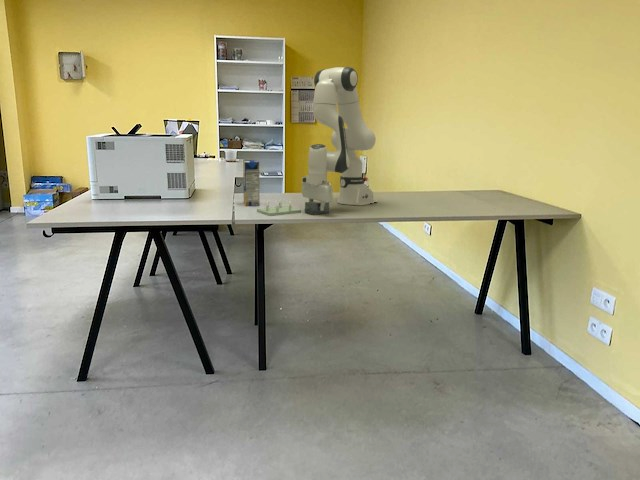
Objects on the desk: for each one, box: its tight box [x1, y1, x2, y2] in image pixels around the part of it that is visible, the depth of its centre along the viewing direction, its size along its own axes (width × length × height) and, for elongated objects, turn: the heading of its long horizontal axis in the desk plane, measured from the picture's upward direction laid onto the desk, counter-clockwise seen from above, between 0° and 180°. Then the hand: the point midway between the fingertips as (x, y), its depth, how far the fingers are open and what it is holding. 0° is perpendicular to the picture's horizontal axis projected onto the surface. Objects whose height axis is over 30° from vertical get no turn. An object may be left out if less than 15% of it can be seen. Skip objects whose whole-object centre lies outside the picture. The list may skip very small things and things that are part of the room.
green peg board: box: [256, 198, 302, 217], centre depth 228 cm, size 17×12×5 cm
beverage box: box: [242, 159, 260, 207], centre depth 245 cm, size 7×11×22 cm, turn 14°
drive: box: [304, 200, 330, 216], centre depth 228 cm, size 10×6×5 cm, turn 127°
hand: (316, 209), depth 228 cm, fingers closed on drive, 6 cm apart
